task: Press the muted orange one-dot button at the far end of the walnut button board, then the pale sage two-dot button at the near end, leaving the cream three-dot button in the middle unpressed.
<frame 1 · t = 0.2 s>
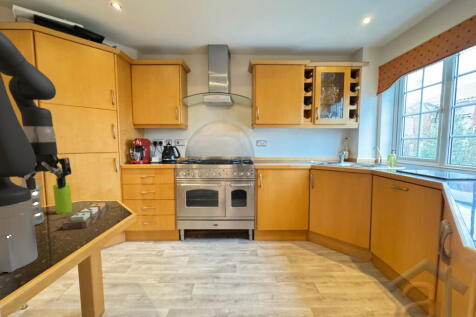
hand: (47, 188, 68), 17 cm above the table, tool pointing down, fingers open, 8 cm apart
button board: (90, 218, 88), on the table
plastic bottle: (33, 225, 81), on the table
three dot button: (89, 212, 87), point 3 cm above the table, slide at 0.0 cm
one dot button: (97, 207, 94), point 3 cm above the table, slide at 0.0 cm
two dot button: (80, 218, 81), point 3 cm above the table, slide at 0.0 cm
soap dispenser: (63, 212, 96), on the table
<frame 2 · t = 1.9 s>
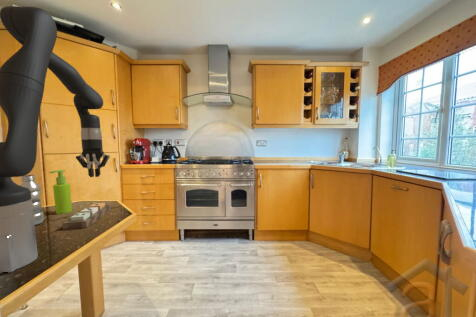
hand: (94, 176, 92), 17 cm above the table, tool pointing down, fingers closed
nothing on the table moved.
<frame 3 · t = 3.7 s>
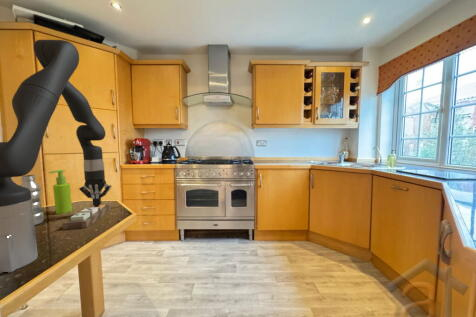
hand: (97, 206, 94), 3 cm above the table, tool pointing down, fingers closed
one dot button: (97, 209, 94), point 2 cm above the table, slide at 1.0 cm, touching gripper
everything else where it was.
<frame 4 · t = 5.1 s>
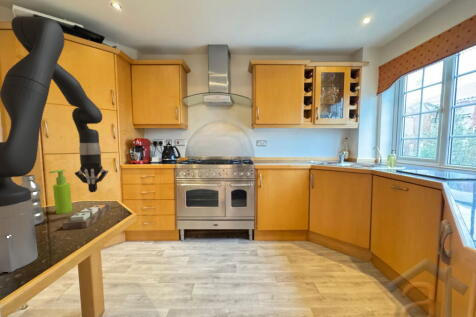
hand: (93, 191, 91), 11 cm above the table, tool pointing down, fingers closed
one dot button: (97, 209, 94), point 2 cm above the table, slide at 1.0 cm
everything else where it was.
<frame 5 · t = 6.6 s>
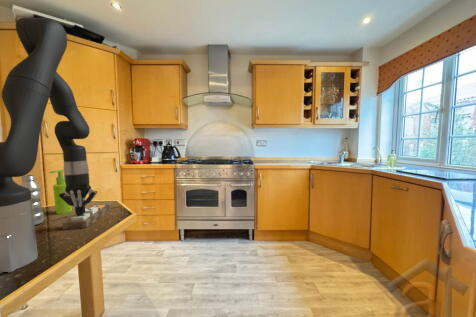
hand: (80, 215, 81), 4 cm above the table, tool pointing down, fingers closed
two dot button: (80, 219, 81), point 2 cm above the table, slide at 0.4 cm, touching gripper
everything else where it was.
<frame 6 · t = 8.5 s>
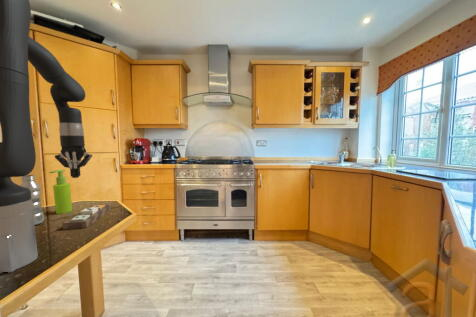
hand: (75, 177, 83), 19 cm above the table, tool pointing down, fingers closed
two dot button: (80, 220, 81), point 2 cm above the table, slide at 1.0 cm
everything else where it was.
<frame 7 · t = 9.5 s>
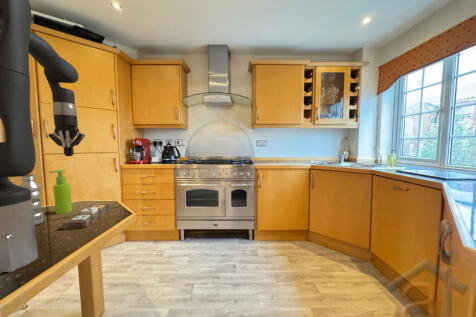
hand: (69, 156, 86), 27 cm above the table, tool pointing down, fingers closed
nothing on the table moved.
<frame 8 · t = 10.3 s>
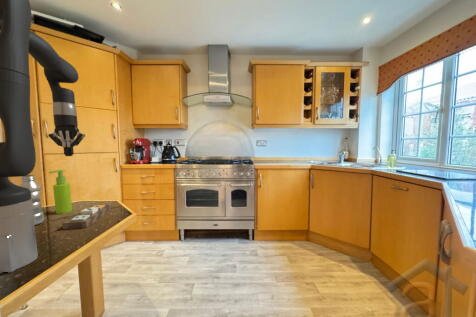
hand: (69, 156, 86), 27 cm above the table, tool pointing down, fingers closed
nothing on the table moved.
at the end: one dot button slide at 1.0 cm; two dot button slide at 1.0 cm; three dot button slide at 0.0 cm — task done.
